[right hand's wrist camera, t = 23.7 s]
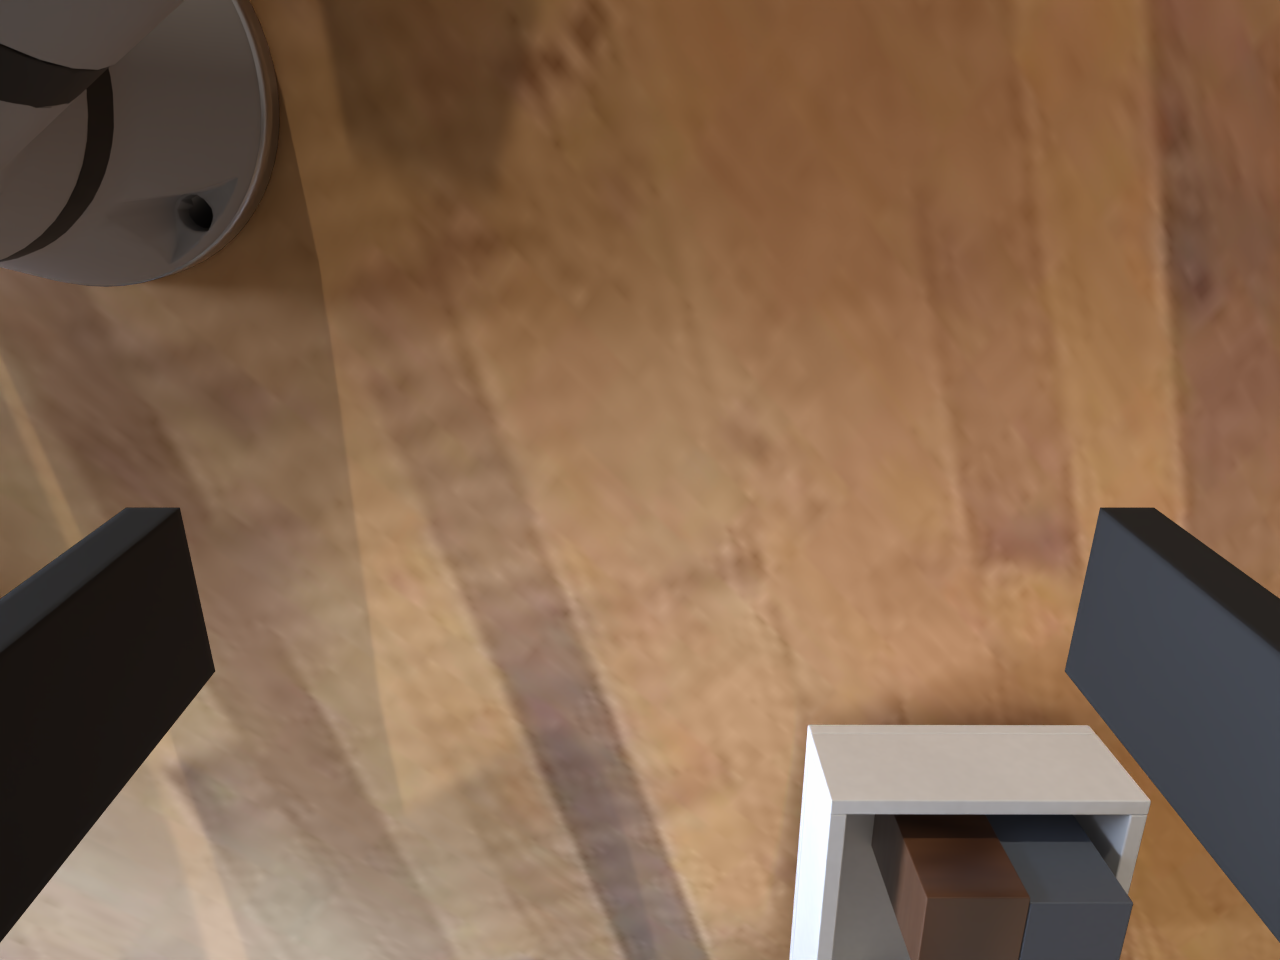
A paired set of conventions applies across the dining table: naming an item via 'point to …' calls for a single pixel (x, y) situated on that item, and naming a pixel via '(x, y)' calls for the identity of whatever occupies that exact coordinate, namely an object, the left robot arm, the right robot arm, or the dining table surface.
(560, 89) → the dining table surface
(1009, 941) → the walnut block
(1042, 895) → the slate block
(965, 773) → the grey tray
